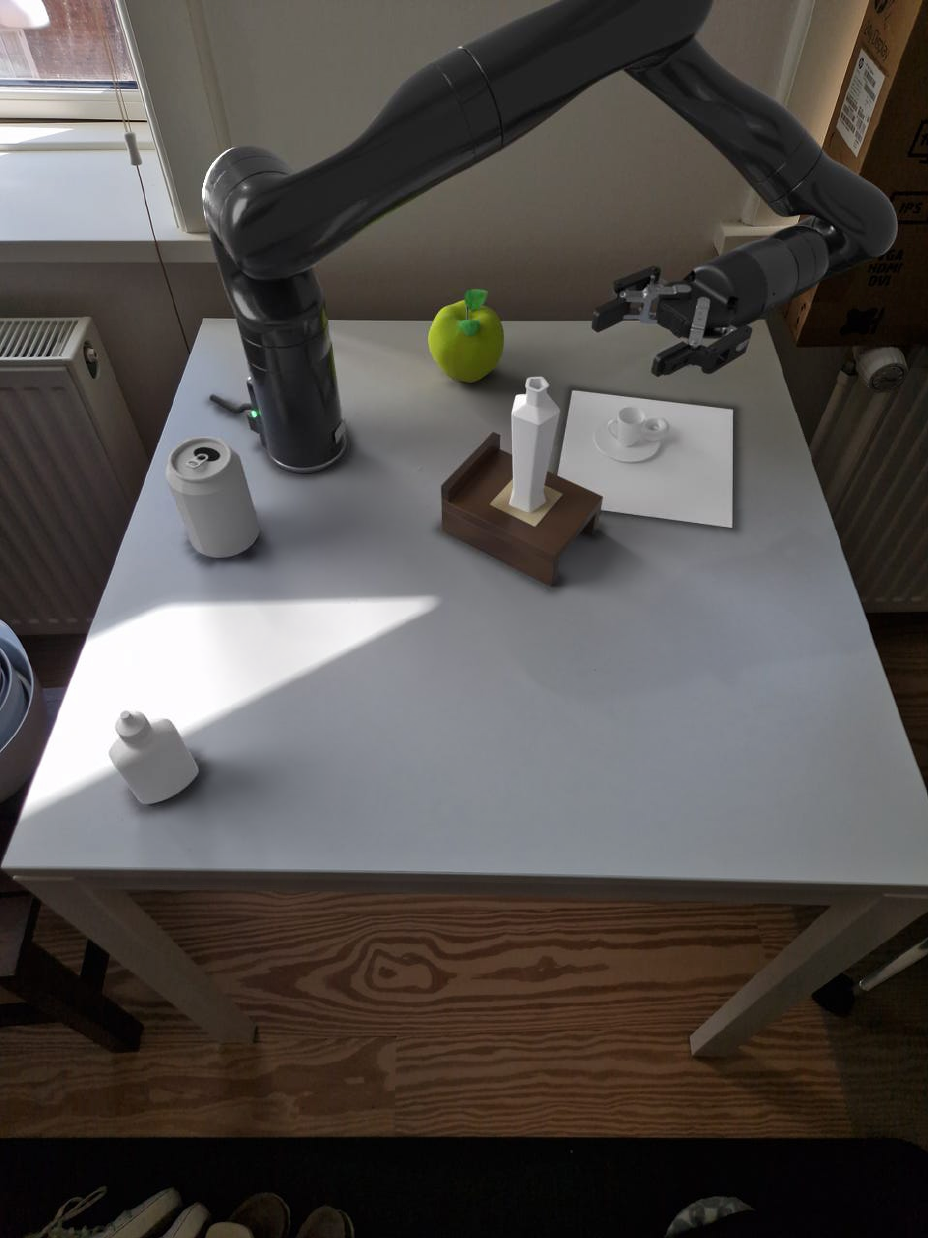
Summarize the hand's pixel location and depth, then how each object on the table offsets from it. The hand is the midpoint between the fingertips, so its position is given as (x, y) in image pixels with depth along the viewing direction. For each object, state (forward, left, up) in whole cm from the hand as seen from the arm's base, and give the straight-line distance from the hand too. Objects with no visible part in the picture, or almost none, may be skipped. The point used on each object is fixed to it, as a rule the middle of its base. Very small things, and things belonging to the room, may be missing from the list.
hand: (624, 344), depth 82 cm
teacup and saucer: (+2, +8, -20) cm, 22 cm away
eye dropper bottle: (-14, -54, -20) cm, 59 cm away
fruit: (-24, +9, -20) cm, 32 cm away
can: (-30, -29, -20) cm, 46 cm away
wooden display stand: (-4, -10, -20) cm, 23 cm away
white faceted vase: (-3, -10, -15) cm, 18 cm away
